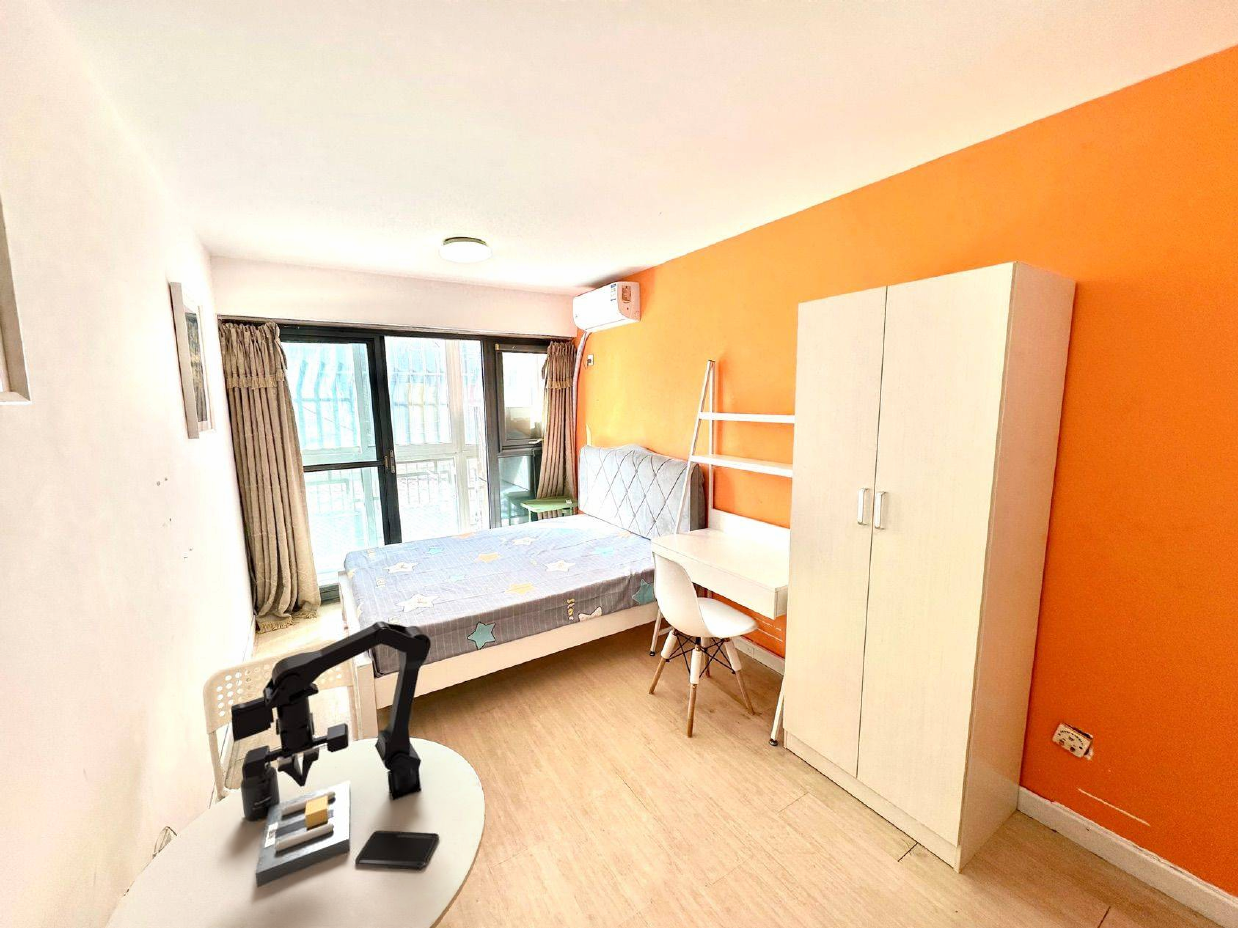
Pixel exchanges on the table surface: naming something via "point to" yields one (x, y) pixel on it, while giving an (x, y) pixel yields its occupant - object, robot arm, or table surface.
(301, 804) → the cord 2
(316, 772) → the table surface
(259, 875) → the panel
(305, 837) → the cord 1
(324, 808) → the block
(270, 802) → the supplement bottle
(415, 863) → the phone
